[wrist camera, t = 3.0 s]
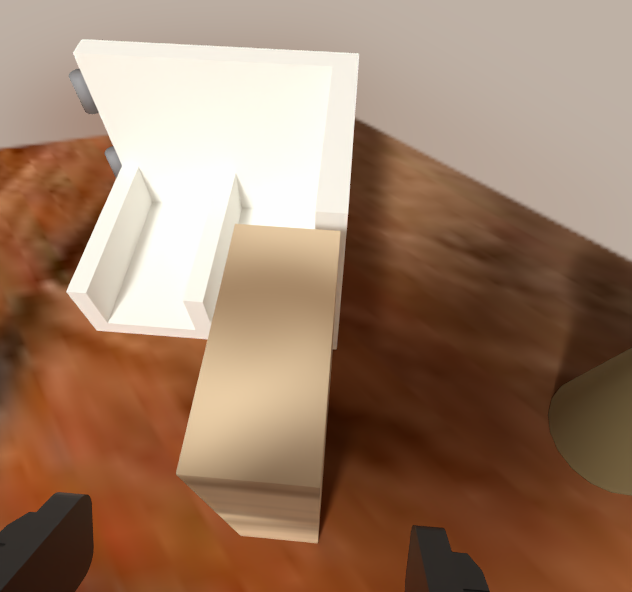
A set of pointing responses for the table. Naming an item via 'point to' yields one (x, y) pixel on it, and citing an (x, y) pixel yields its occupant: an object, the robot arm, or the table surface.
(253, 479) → the block
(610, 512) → the table surface
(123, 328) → the white open box
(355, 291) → the table surface
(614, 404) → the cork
